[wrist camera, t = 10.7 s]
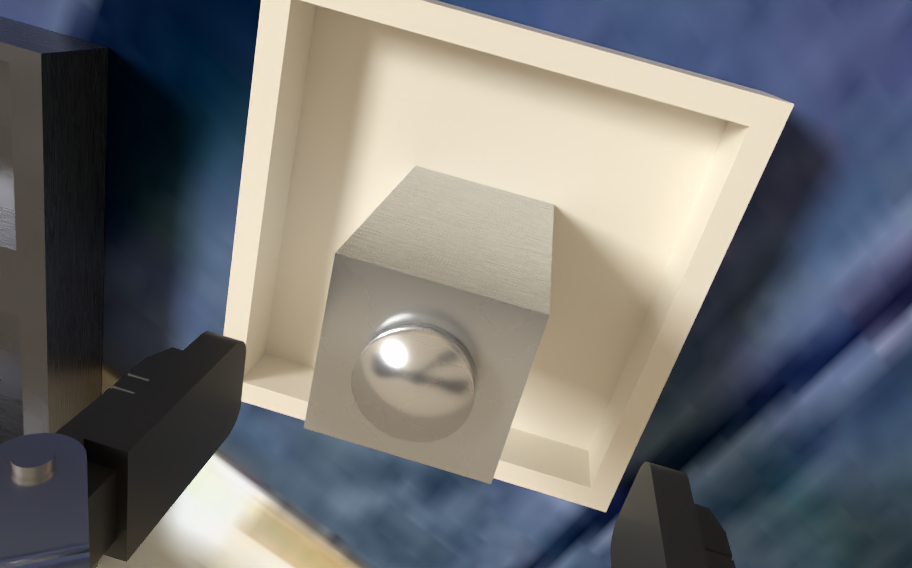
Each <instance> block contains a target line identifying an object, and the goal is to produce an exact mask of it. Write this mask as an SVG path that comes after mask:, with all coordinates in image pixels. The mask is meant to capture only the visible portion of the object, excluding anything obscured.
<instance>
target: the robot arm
mask: <svg viewBox="0 0 912 568" xmlns="http://www.w3.org/2000/svg"><path fill="white" fill-rule="evenodd" d="M245 359H246V345H245V343H244V342H243V341H240V340H236V339H233V338H230V337H226V336H223V335H219V334H216V333H213V332H209V331H206V332H204V333H203V334H201V335H200V336H199V337H198V338H197V339H196V340H194V341H193V342H192V343H191V344H190V345H189V346H188V347H187V348H185V349H184V350H179V349H176V348H173V347H172V348H170V349H167V350H165V351H162V352H160V353H157V354H155V355H152V356H149V357H147V358H146V359H144V360H143V361H142V362H141V363H139V364H138V365H137V366H136V367H135V368H133V369H132V370H131V371H130V372H129V373H128V375H127V376H124V377H122V378H121V379H120V380H119V381H118V382H116V383H115V384H114V385H113V388H112V389H110V388H109V389H108V390H107V391H105V392H104V393H103V394H102V395H101V396H99V397H98V398H97V399H96V400H94V401H93V402H92V403H91V404H90V405H88V406H87V407H86V408H85V409H84V410H82V411H81V412H80V413H79V414H77V415H76V416H75V417H74V418H73V419H71V420H70V421H69V422H68V423H66V424H65V425H64V426H63V427H62V428H60V429H59V430H58V431H57V432H56V433H35V434H29V435H24V436H20V437H17V438H14V439H11V440H9V441H6V442H4V443H2V444H0V568H92V567H93V566H94V565H95V564H96V562H97V561H98V560H99V559H100V558H101V557H102V555H103V554H104V555H107V556H110V557H113V558H116V559H119V560H123V561H126V562H127V561H128V559H129V558H130V557H131V556H132V554H133V553H134V552H135V551H136V549H137V548H138V547H139V546H140V544H141V543H142V542H143V541H144V540H145V538H146V537H147V536H148V535H149V533H150V532H151V531H152V530H153V528H154V527H155V526H156V525H157V523H158V522H159V521H160V520H161V518H162V517H163V516H164V515H165V513H166V512H167V511H168V510H169V509H170V507H171V506H172V505H173V504H174V502H175V501H176V500H177V499H178V497H179V496H180V495H181V494H182V492H183V491H184V490H185V489H186V487H187V486H188V485H189V484H190V483H191V481H192V480H193V479H194V478H195V476H196V475H197V474H198V473H199V471H200V470H201V469H202V468H203V466H204V465H205V464H206V463H207V461H208V460H209V459H210V458H211V456H212V455H213V454H214V453H215V452H216V450H217V449H218V448H219V447H220V445H221V444H222V443H223V442H224V440H225V439H226V438H227V437H228V435H229V434H230V432H231V431H232V429H233V427H234V425H235V422H236V420H237V417H238V414H239V411H240V406H241V397H242V387H243V378H244V368H245ZM611 568H735V564H734V561H733V560H732V553H731V550H730V546H729V543H728V539H727V536H726V532H725V531H724V529H723V528H722V526H721V525H720V524H719V522H718V521H717V519H716V518H715V517H714V515H713V514H712V512H711V511H710V509H709V508H707V507H703V506H700V505H697V504H694V501H693V497H692V493H691V488H690V484H689V480H688V477H687V475H686V473H684V472H680V471H677V470H674V469H670V468H667V467H663V466H660V465H657V464H653V463H650V462H644V463H643V464H642V466H641V467H640V469H639V471H638V474H637V476H636V478H635V480H634V483H633V485H632V487H631V489H630V491H629V494H628V496H627V498H626V500H625V503H624V505H623V507H622V509H621V512H620V514H619V516H618V518H617V521H616V524H615V527H614V531H613V535H612V541H611Z"/></svg>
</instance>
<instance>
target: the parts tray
mask: <svg viewBox="0 0 912 568" xmlns="http://www.w3.org/2000/svg"><path fill="white" fill-rule="evenodd" d="M793 106H794V104H793V103H790V102H788V101H785V100H783V99H781V98H778V97H776V96H773V95H771V94H769V93H766V92H763V91H760V90H756V89H753V88H749V87H745V86H742V85H738V84H735V83H731V82H727V81H724V80H720V79H717V78H713V77H709V76H706V75H702V74H699V73H695V72H692V71H688V70H684V69H681V68H677V67H674V66H670V65H666V64H663V63H659V62H656V61H652V60H648V59H645V58H641V57H638V56H634V55H631V54H627V53H623V52H620V51H616V50H613V49H609V48H605V47H602V46H598V45H595V44H591V43H587V42H584V41H580V40H577V39H573V38H570V37H566V36H562V35H559V34H555V33H552V32H548V31H544V30H541V29H537V28H534V27H530V26H526V25H523V24H519V23H516V22H512V21H509V20H505V19H501V18H498V17H494V16H491V15H487V14H483V13H480V12H476V11H473V10H469V9H465V8H462V7H458V6H455V5H451V4H448V3H444V2H440V1H437V0H261V6H260V15H259V24H258V33H257V41H256V50H255V59H254V68H253V77H252V86H251V95H250V104H249V112H248V121H247V130H246V139H245V148H244V157H243V166H242V175H241V184H240V192H239V201H238V210H237V219H236V228H235V237H234V246H233V255H232V263H231V272H230V281H229V290H228V299H227V308H226V317H225V326H224V334H223V336H226V337H230V338H233V339H236V340H240V341H243V342H244V343H245V345H246V359H245V368H244V378H243V387H242V397H241V401H242V402H246V403H249V404H252V405H256V406H259V407H262V408H265V409H269V410H272V411H275V412H279V413H282V414H285V415H288V416H292V417H295V418H298V419H302V420H305V418H306V413H307V407H308V401H309V396H310V390H311V385H312V379H313V374H314V368H315V362H316V357H317V351H318V346H319V340H320V335H321V329H322V323H323V318H324V312H325V307H326V301H327V296H328V290H329V284H330V279H331V273H332V268H333V262H334V257H335V253H336V252H337V250H338V249H339V248H340V247H341V246H342V245H343V244H344V243H345V242H346V241H347V240H348V238H349V237H350V236H351V235H352V234H353V233H354V232H355V231H356V230H357V229H358V228H359V227H360V225H361V224H362V223H363V222H364V221H365V220H366V219H367V218H368V217H369V216H370V215H371V214H372V212H373V211H374V210H375V209H376V208H377V207H378V206H379V205H380V204H381V203H382V202H383V200H384V199H385V198H386V197H387V196H388V195H389V194H390V193H391V192H392V191H393V190H394V189H395V187H396V186H397V185H398V184H399V183H400V182H401V181H402V180H403V179H404V178H405V177H406V176H407V174H408V173H409V172H410V171H411V170H412V169H413V168H414V167H415V166H419V167H423V168H426V169H430V170H434V171H437V172H441V173H444V174H448V175H451V176H455V177H458V178H462V179H465V180H469V181H472V182H476V183H479V184H483V185H487V186H490V187H494V188H497V189H501V190H504V191H508V192H511V193H515V194H518V195H522V196H525V197H529V198H532V199H536V200H540V201H543V202H547V203H550V204H554V214H553V239H552V265H551V291H550V315H549V318H548V321H547V324H546V327H545V330H544V333H543V335H542V338H541V341H540V344H539V347H538V350H537V353H536V356H535V358H534V361H533V364H532V367H531V370H530V373H529V376H528V379H527V382H526V384H525V387H524V390H523V393H522V396H521V399H520V402H519V405H518V408H517V410H516V413H515V416H514V419H513V422H512V425H511V428H510V431H509V434H508V436H507V439H506V442H505V445H504V448H503V451H502V454H501V457H500V459H499V462H498V465H497V468H496V471H495V474H494V477H493V478H495V479H498V480H502V481H505V482H508V483H511V484H515V485H518V486H521V487H525V488H528V489H531V490H534V491H538V492H541V493H544V494H547V495H551V496H554V497H557V498H561V499H564V500H567V501H570V502H574V503H577V504H580V505H584V506H587V507H590V508H593V509H597V510H600V511H603V512H606V511H607V509H608V507H609V504H610V502H611V500H612V498H613V496H614V494H615V491H616V489H617V487H618V485H619V483H620V481H621V478H622V476H623V474H624V472H625V470H626V468H627V465H628V463H629V461H630V459H631V457H632V455H633V452H634V450H635V448H636V446H637V444H638V442H639V439H640V437H641V435H642V433H643V431H644V429H645V426H646V424H647V422H648V420H649V418H650V416H651V413H652V411H653V409H654V407H655V405H656V403H657V401H658V398H659V396H660V394H661V392H662V390H663V388H664V385H665V383H666V381H667V379H668V377H669V375H670V372H671V370H672V368H673V366H674V364H675V362H676V359H677V357H678V355H679V353H680V351H681V349H682V346H683V344H684V342H685V340H686V338H687V336H688V333H689V331H690V329H691V327H692V325H693V323H694V320H695V318H696V316H697V314H698V312H699V310H700V307H701V305H702V303H703V301H704V299H705V297H706V295H707V292H708V290H709V288H710V286H711V284H712V282H713V279H714V277H715V275H716V273H717V271H718V269H719V266H720V264H721V262H722V260H723V258H724V256H725V253H726V251H727V249H728V247H729V245H730V243H731V240H732V238H733V236H734V234H735V232H736V230H737V227H738V225H739V223H740V221H741V219H742V217H743V214H744V212H745V210H746V208H747V206H748V204H749V201H750V199H751V197H752V195H753V193H754V191H755V189H756V186H757V184H758V182H759V180H760V178H761V176H762V173H763V171H764V169H765V167H766V165H767V163H768V160H769V158H770V156H771V154H772V152H773V150H774V147H775V145H776V143H777V141H778V139H779V137H780V134H781V132H782V130H783V128H784V126H785V124H786V121H787V119H788V117H789V115H790V113H791V111H792V108H793Z"/></svg>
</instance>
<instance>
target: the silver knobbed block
mask: <svg viewBox="0 0 912 568" xmlns="http://www.w3.org/2000/svg"><path fill="white" fill-rule="evenodd" d="M553 214H554V204H550V203H547V202H543V201H540V200H536V199H532V198H529V197H525V196H522V195H518V194H515V193H511V192H508V191H504V190H501V189H497V188H494V187H490V186H487V185H483V184H479V183H476V182H472V181H469V180H465V179H462V178H458V177H455V176H451V175H448V174H444V173H441V172H437V171H434V170H430V169H426V168H423V167H419V166H415V167H414V168H413V169H412V170H411V171H410V172H409V173H408V174H407V176H406V177H405V178H404V179H403V180H402V181H401V182H400V183H399V184H398V185H397V186H396V187H395V189H394V190H393V191H392V192H391V193H390V194H389V195H388V196H387V197H386V198H385V199H384V200H383V202H382V203H381V204H380V205H379V206H378V207H377V208H376V209H375V210H374V211H373V212H372V214H371V215H370V216H369V217H368V218H367V219H366V220H365V221H364V222H363V223H362V224H361V225H360V227H359V228H358V229H357V230H356V231H355V232H354V233H353V234H352V235H351V236H350V237H349V238H348V240H347V241H346V242H345V243H344V244H343V245H342V246H341V247H340V248H339V249H338V250H337V252H336V253H335V257H334V262H333V268H332V273H331V279H330V284H329V290H328V296H327V301H326V307H325V312H324V318H323V323H322V329H321V335H320V340H319V346H318V351H317V357H316V362H315V368H314V374H313V379H312V385H311V390H310V396H309V401H308V407H307V413H306V418H305V424H304V428H306V429H309V430H313V431H316V432H319V433H323V434H326V435H329V436H332V437H336V438H339V439H342V440H346V441H349V442H352V443H356V444H359V445H362V446H366V447H369V448H372V449H376V450H379V451H382V452H386V453H389V454H392V455H396V456H399V457H402V458H406V459H409V460H412V461H416V462H419V463H422V464H426V465H429V466H432V467H436V468H439V469H442V470H445V471H449V472H452V473H455V474H459V475H462V476H465V477H469V478H472V479H475V480H479V481H482V482H485V483H489V484H491V483H492V480H493V477H494V474H495V471H496V468H497V465H498V462H499V459H500V457H501V454H502V451H503V448H504V445H505V442H506V439H507V436H508V434H509V431H510V428H511V425H512V422H513V419H514V416H515V413H516V410H517V408H518V405H519V402H520V399H521V396H522V393H523V390H524V387H525V384H526V382H527V379H528V376H529V373H530V370H531V367H532V364H533V361H534V358H535V356H536V353H537V350H538V347H539V344H540V341H541V338H542V335H543V333H544V330H545V327H546V324H547V321H548V318H549V315H550V291H551V265H552V239H553Z"/></svg>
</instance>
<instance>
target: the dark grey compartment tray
mask: <svg viewBox="0 0 912 568" xmlns="http://www.w3.org/2000/svg"><path fill="white" fill-rule="evenodd" d="M108 50H109V48H108V47H105V46H101V45H98V44H94V43H91V42H87V41H84V40H80V39H77V38H73V37H70V36H66V35H63V34H59V33H56V32H53V31H49V30H46V29H42V28H39V27H35V26H32V25H28V24H25V23H21V22H18V21H14V20H11V19H7V18H4V17H0V444H2V443H4V442H6V441H9V440H11V439H14V438H17V437H20V436H24V435H29V434H35V433H56V432H57V431H58V430H59V429H60V428H62V427H63V426H64V425H65V424H66V423H68V422H69V421H70V420H71V419H73V418H74V417H75V416H76V415H77V414H79V413H80V412H81V411H82V410H84V409H85V408H86V407H87V406H88V405H90V404H91V403H92V402H93V401H94V400H96V399H97V398H98V397H99V396H101V375H102V329H103V282H104V236H105V189H106V143H107V96H108ZM96 566H97V562H96V564H95V565H94V566H93V567H92V568H95V567H96Z"/></svg>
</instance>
